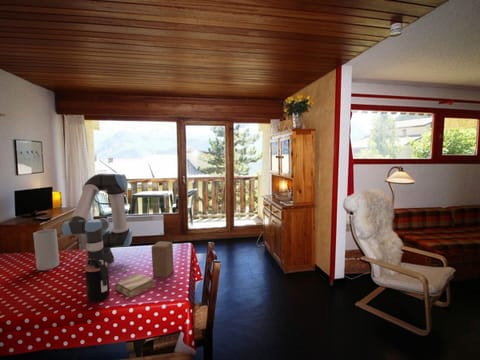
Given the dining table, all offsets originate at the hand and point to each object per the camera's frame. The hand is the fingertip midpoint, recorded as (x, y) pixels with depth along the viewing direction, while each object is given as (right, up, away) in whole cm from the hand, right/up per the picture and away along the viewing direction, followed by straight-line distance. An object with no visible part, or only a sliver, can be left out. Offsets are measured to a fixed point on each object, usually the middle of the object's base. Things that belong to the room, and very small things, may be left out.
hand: (98, 287), depth 135 cm
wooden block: (+27, -3, +27) cm, 38 cm away
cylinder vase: (-57, -3, +40) cm, 69 cm away
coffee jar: (0, -6, +1) cm, 6 cm away
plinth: (+16, -5, +10) cm, 19 cm away
